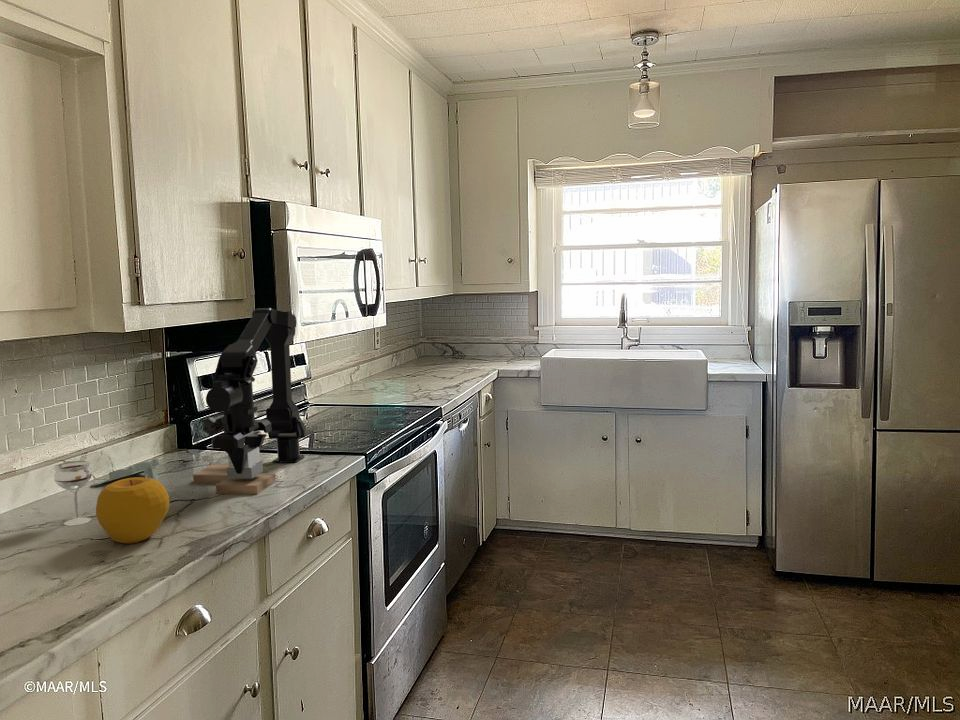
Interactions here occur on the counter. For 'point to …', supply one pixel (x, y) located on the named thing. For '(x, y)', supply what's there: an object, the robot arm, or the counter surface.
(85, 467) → the wineglass
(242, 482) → the stand
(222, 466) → the stand
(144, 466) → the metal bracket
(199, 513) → the counter surface
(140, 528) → the apple
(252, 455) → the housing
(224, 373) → the robot arm
